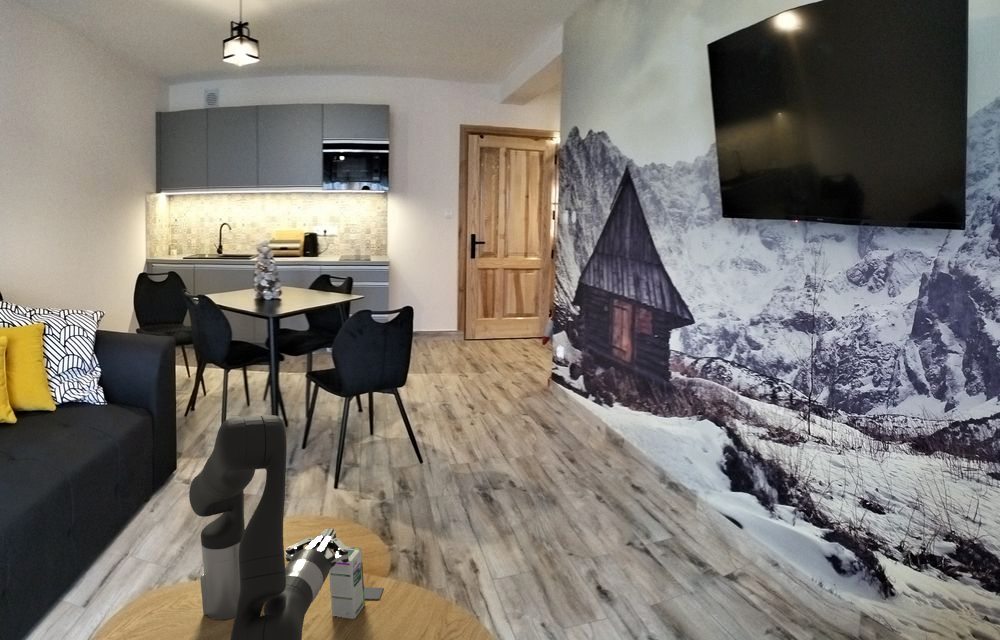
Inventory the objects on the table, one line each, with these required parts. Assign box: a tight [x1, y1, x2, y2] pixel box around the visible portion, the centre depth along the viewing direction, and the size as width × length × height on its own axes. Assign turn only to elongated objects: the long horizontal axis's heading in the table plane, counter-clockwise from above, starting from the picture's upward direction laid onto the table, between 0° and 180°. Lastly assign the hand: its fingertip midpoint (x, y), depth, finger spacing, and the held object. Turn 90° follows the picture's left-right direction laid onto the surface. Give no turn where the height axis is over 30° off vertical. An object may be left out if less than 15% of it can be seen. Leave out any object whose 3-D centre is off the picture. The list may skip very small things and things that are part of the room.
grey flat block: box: [364, 586, 384, 601], centre depth 156 cm, size 8×4×1 cm, turn 88°
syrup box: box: [328, 546, 366, 620], centre depth 148 cm, size 6×6×14 cm
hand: (330, 532), depth 135 cm, fingers closed
